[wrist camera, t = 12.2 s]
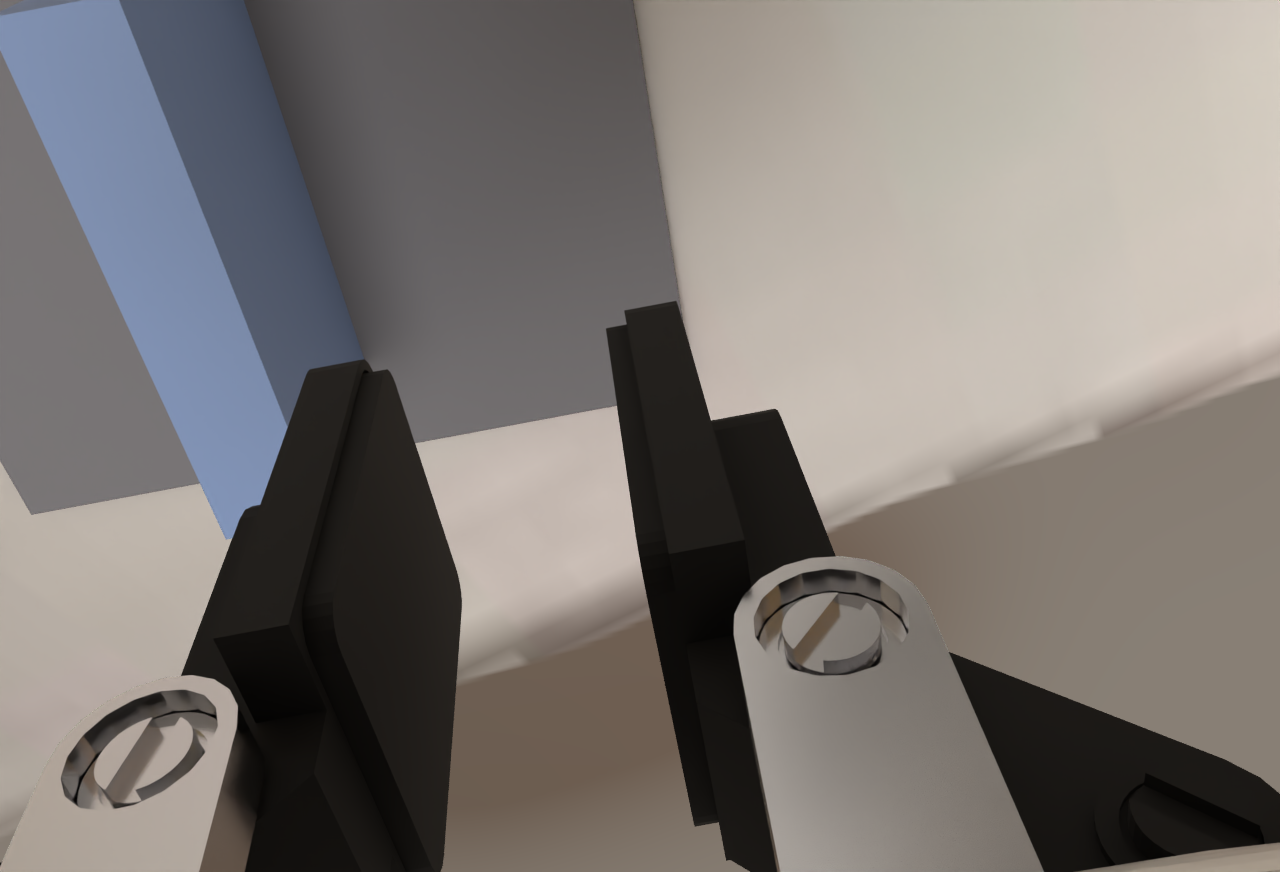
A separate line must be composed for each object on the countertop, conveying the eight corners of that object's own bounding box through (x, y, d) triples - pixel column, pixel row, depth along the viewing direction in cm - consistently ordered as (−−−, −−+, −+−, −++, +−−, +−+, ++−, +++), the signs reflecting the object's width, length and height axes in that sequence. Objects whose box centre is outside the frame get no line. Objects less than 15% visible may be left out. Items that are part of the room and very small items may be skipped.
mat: (581, -321, 18) (582, -321, 18) (691, 382, 26) (693, 391, 26) (-334, -144, 19) (-350, -143, 18) (37, 504, 26) (31, 514, 26)
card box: (365, 363, 24) (324, 521, 19) (283, 378, 24) (220, 540, 19) (221, -67, 20) (116, -7, 15) (118, -48, 20) (-23, 19, 15)
